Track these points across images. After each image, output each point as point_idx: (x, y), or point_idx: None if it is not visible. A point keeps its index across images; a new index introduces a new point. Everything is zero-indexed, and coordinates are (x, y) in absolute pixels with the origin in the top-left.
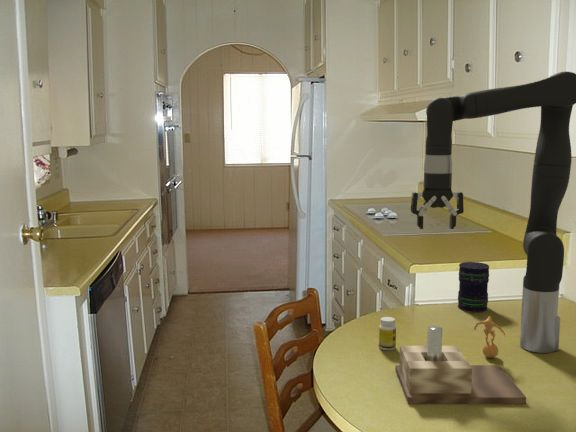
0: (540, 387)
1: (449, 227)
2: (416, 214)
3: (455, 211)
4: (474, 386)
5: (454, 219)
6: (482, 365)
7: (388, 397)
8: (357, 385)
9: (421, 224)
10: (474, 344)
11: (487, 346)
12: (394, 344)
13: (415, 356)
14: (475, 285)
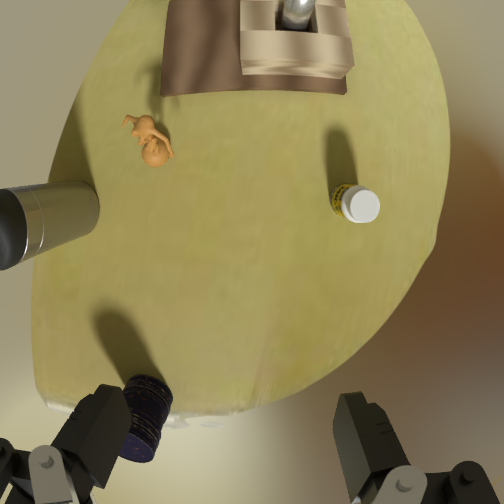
0: (129, 51)
1: (131, 421)
2: (429, 474)
3: (32, 472)
4: (230, 18)
5: (71, 432)
6: (190, 89)
7: (357, 21)
8: (398, 58)
9: (365, 414)
10: (171, 217)
11: (160, 144)
12: (336, 189)
13: (329, 19)
14: (132, 407)
